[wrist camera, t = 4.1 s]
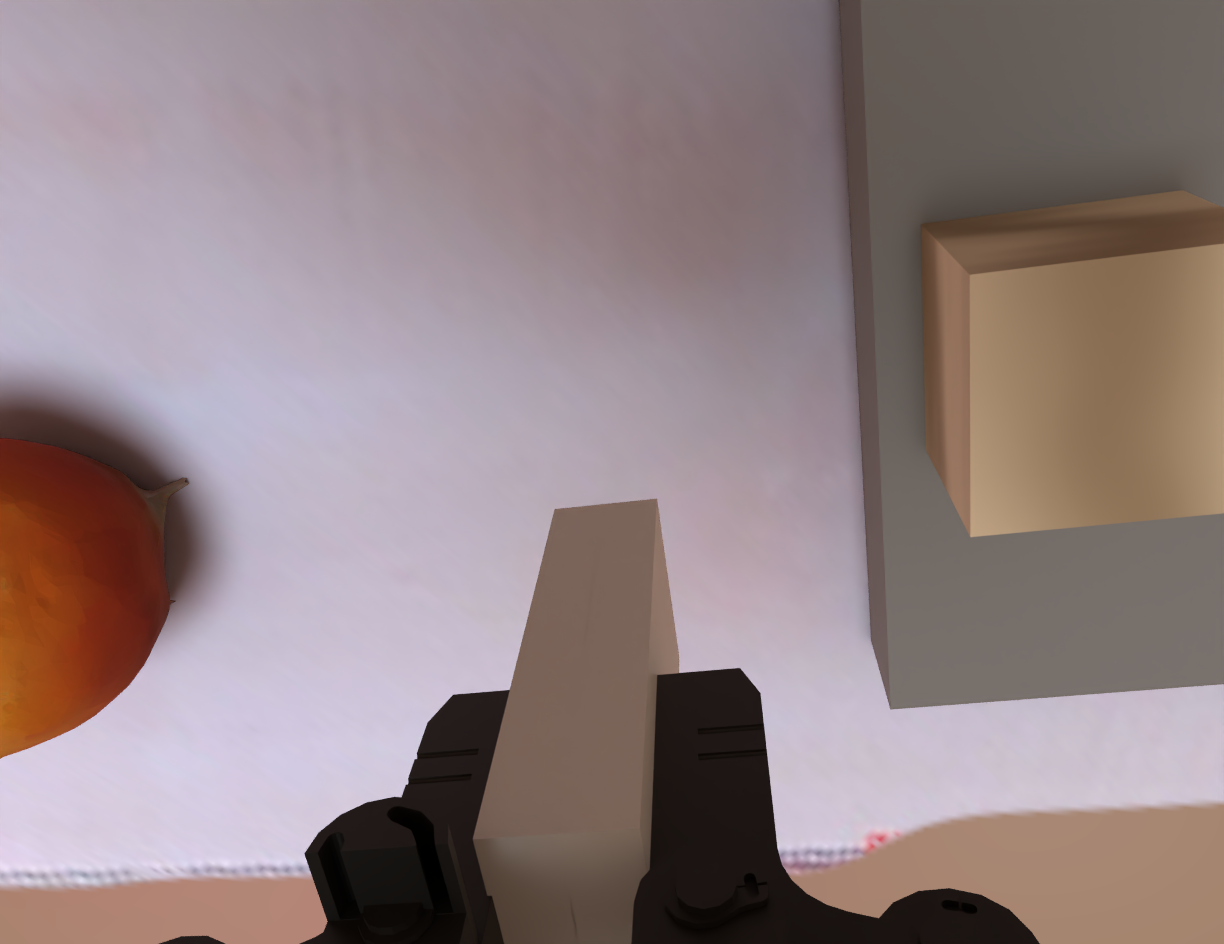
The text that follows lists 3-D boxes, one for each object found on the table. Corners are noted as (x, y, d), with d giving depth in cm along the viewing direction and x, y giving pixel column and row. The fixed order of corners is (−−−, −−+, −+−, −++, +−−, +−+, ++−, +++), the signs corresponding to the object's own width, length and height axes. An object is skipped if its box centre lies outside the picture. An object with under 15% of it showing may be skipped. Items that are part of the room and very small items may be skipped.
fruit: (268, 699, 29) (-28, 871, 23) (102, 595, 33) (-190, 718, 27) (251, 434, 26) (-103, 554, 20) (68, 352, 30) (-276, 430, 24)
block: (925, 449, 23) (970, 537, 20) (920, 223, 21) (969, 274, 17) (1163, 425, 23) (1255, 510, 19) (1182, 190, 21) (1288, 235, 17)
